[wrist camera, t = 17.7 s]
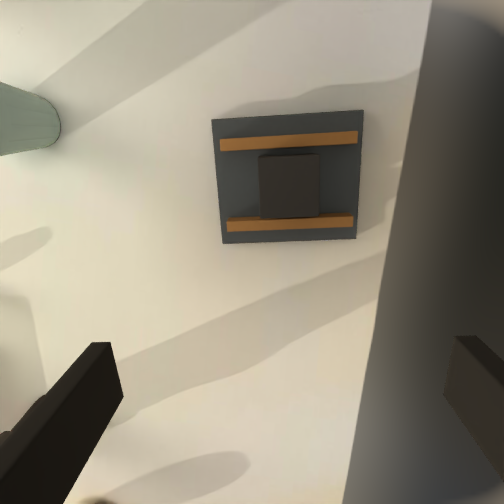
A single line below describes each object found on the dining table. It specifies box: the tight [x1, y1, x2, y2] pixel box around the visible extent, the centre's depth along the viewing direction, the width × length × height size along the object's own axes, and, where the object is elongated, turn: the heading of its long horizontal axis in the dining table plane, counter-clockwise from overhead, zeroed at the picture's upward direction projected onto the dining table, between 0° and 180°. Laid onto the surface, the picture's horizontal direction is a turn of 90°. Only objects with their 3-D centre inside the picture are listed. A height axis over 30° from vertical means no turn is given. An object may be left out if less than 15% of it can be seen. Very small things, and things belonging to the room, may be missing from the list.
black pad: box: [258, 153, 320, 219], centre depth 33 cm, size 6×6×4 cm
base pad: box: [211, 110, 364, 244], centre depth 34 cm, size 16×14×3 cm
